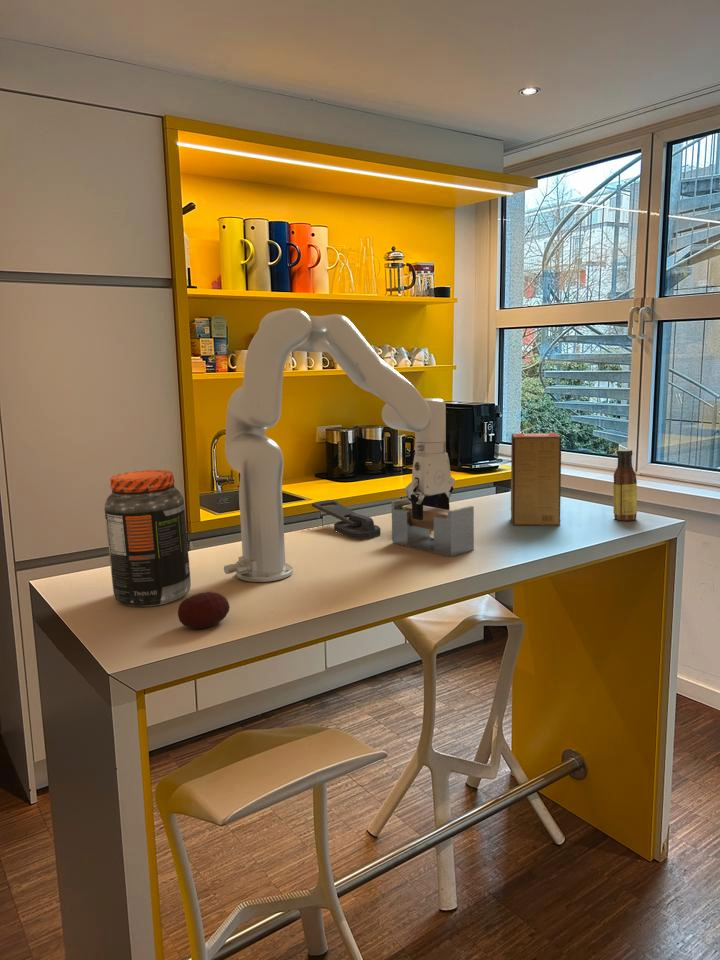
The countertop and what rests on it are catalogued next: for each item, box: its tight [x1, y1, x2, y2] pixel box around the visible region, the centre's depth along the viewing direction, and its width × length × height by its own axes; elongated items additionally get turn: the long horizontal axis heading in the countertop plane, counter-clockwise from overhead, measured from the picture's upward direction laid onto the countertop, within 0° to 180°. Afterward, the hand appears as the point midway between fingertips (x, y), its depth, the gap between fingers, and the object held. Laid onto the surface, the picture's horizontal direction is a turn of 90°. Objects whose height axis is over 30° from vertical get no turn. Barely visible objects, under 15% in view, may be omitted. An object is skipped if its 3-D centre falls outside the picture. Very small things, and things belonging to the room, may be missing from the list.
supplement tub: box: [104, 469, 192, 607], centre depth 152 cm, size 16×16×26 cm
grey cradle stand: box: [390, 497, 475, 558], centre depth 186 cm, size 8×20×11 cm, turn 42°
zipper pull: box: [311, 499, 382, 541], centre depth 206 cm, size 9×7×25 cm
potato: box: [177, 591, 231, 629], centre depth 136 cm, size 7×10×6 cm
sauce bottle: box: [612, 448, 638, 522], centre depth 208 cm, size 6×6×20 cm
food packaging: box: [510, 432, 562, 527], centre depth 207 cm, size 13×9×25 cm
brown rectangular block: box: [402, 504, 452, 531], centre depth 185 cm, size 5×16×5 cm, turn 42°
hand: (430, 516), depth 185 cm, fingers open, 9 cm apart
